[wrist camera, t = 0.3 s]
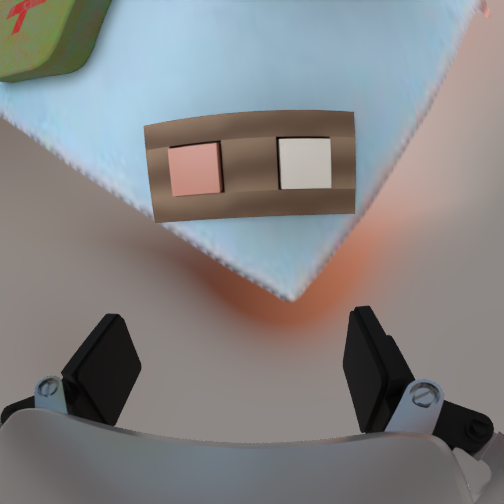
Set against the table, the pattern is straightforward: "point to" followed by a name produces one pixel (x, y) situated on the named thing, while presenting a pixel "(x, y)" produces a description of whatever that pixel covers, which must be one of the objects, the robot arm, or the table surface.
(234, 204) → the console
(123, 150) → the table surface
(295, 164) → the key ivory
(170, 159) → the key red
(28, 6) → the first aid kit
